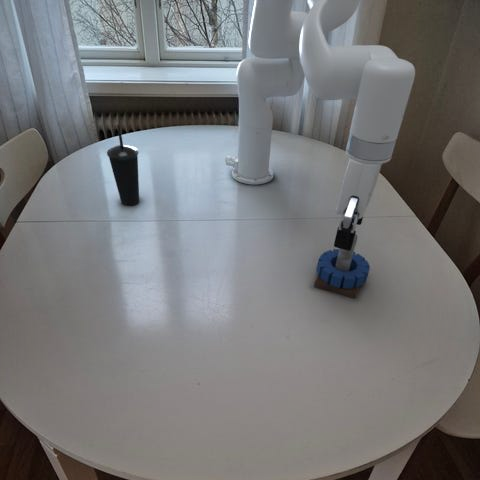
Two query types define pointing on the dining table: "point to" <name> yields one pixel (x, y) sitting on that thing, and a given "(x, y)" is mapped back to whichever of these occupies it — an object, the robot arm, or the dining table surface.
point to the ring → (342, 277)
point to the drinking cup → (125, 171)
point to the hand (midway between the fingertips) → (347, 235)
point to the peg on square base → (343, 265)
